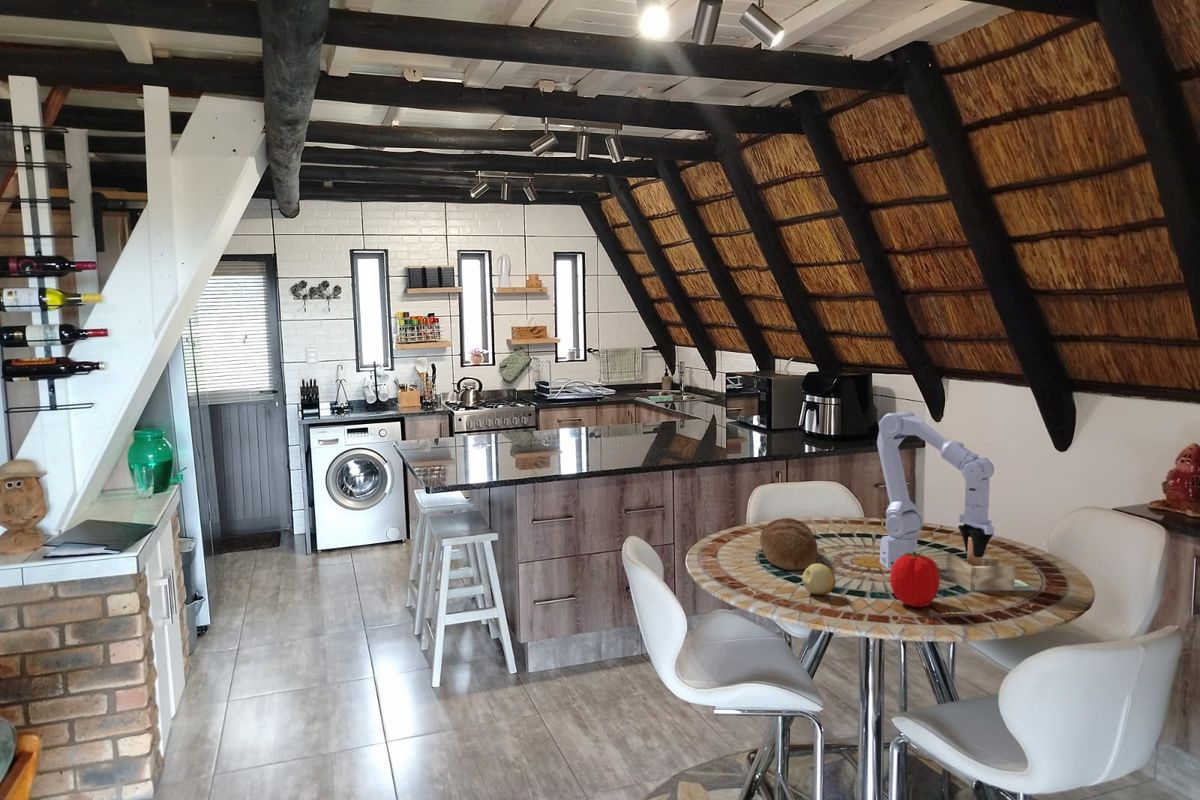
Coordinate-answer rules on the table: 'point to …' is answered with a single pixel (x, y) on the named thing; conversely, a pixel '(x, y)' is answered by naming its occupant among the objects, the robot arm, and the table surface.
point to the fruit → (818, 579)
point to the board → (995, 590)
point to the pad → (1020, 584)
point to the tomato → (914, 579)
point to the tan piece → (981, 574)
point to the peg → (972, 555)
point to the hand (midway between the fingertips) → (974, 554)
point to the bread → (789, 544)
